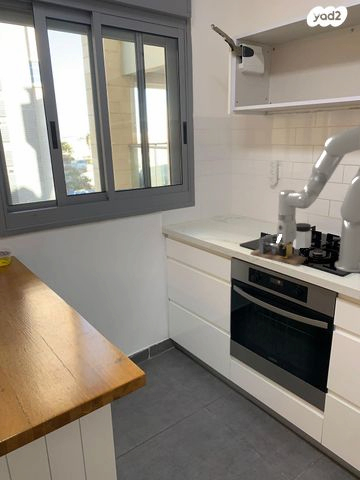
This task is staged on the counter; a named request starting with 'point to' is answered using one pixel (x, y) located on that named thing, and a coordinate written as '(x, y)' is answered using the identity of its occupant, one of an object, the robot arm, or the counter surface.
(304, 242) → the jar
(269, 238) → the grey arch
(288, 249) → the hook rod
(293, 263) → the board
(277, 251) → the cradle
